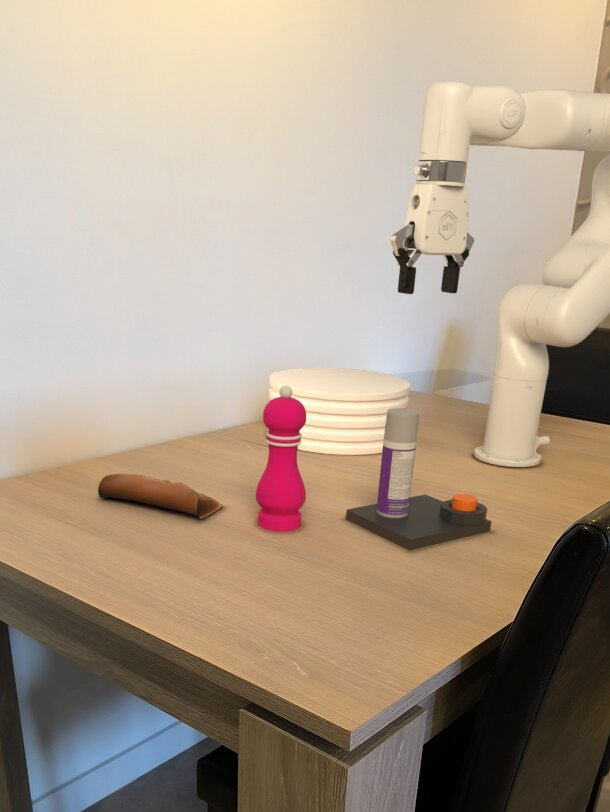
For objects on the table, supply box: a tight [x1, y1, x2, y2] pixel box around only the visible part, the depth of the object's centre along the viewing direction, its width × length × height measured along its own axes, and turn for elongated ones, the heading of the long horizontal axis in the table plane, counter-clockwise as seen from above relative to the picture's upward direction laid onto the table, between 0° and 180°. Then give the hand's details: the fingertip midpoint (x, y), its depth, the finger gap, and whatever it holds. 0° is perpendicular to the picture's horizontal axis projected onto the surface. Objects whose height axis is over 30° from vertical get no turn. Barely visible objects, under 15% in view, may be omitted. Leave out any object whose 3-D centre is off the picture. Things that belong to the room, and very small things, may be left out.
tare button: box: [451, 493, 479, 511], centre depth 121 cm, size 4×4×2 cm
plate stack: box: [267, 367, 411, 456], centre depth 167 cm, size 28×28×12 cm
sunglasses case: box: [97, 473, 223, 520], centre depth 126 cm, size 18×7×7 cm, turn 64°
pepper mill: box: [255, 386, 307, 532], centre depth 116 cm, size 7×7×20 cm
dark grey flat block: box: [345, 494, 492, 551], centre depth 122 cm, size 16×14×4 cm
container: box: [376, 408, 420, 518], centre depth 119 cm, size 5×5×15 cm
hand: (427, 292), depth 135 cm, fingers open, 9 cm apart
